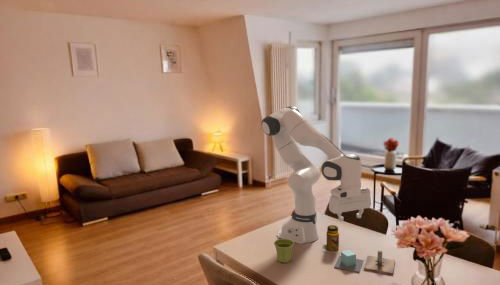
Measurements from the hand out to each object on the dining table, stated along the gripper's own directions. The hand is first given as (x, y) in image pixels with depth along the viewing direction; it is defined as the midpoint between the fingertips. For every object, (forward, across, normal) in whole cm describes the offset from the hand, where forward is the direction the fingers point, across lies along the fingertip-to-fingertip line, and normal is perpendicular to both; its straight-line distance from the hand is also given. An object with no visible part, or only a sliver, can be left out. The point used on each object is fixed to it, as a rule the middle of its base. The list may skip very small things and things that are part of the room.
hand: (349, 219), depth 159 cm
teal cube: (+21, +1, +1) cm, 21 cm away
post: (+21, -11, +7) cm, 25 cm away
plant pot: (+22, +26, -14) cm, 37 cm away
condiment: (+22, 0, -15) cm, 27 cm away
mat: (+22, +1, +1) cm, 22 cm away
